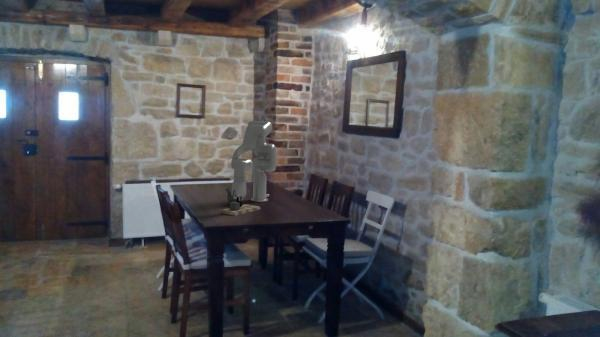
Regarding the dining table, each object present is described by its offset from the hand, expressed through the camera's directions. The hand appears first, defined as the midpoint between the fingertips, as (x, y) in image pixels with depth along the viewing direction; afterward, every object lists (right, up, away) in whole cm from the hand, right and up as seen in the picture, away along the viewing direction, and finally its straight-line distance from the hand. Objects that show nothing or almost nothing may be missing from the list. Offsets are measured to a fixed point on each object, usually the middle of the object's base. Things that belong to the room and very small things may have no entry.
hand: (239, 206), depth 315 cm
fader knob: (-2, -1, -4) cm, 4 cm away
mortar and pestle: (-7, -1, +23) cm, 24 cm away
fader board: (+1, -3, +2) cm, 4 cm away
